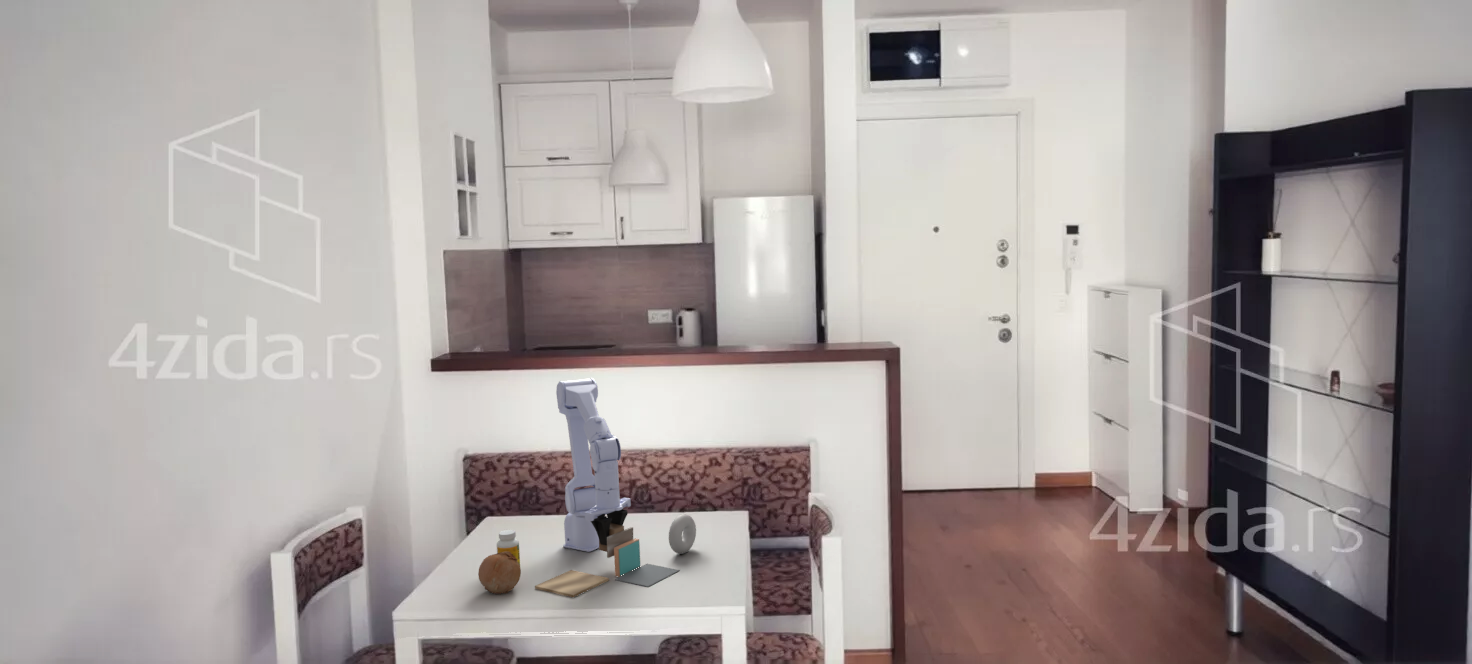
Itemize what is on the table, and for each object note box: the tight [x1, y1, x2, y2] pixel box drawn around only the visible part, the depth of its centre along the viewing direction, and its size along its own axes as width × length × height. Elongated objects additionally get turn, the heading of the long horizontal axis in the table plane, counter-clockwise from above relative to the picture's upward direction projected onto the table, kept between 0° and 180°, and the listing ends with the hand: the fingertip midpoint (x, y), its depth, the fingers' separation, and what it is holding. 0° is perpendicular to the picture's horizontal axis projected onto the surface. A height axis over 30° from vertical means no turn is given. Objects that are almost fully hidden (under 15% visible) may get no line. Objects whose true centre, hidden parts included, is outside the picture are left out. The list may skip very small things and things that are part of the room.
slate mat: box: [614, 563, 680, 588], centre depth 218 cm, size 10×12×1 cm
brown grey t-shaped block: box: [598, 523, 634, 559], centre depth 224 cm, size 6×9×6 cm, turn 147°
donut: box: [668, 513, 697, 555], centre depth 233 cm, size 10×3×10 cm, turn 150°
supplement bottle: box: [496, 529, 521, 566], centre depth 225 cm, size 5×5×10 cm
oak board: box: [534, 569, 610, 598], centre depth 214 cm, size 12×12×1 cm
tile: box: [613, 538, 641, 578], centre depth 221 cm, size 1×8×7 cm, turn 147°
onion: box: [478, 551, 522, 595], centre depth 211 cm, size 10×9×10 cm
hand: (610, 542), depth 224 cm, fingers closed on brown grey t-shaped block, 3 cm apart
